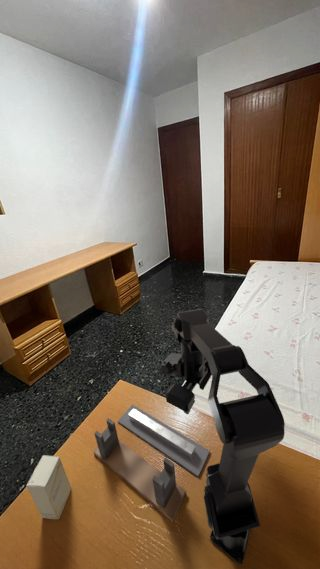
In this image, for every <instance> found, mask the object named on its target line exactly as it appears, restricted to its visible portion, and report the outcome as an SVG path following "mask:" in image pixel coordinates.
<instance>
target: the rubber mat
mask: <svg viewBox="0 0 320 569" xmlns="http://www.w3.org/2000/svg"><path fill="white" fill-rule="evenodd" d="M133 409H135V410H137V411H138V412H140V413H142V414H143V415H145V416H147V417H148V418H150V419H151V420H153V421H155V422H156V423H158V424H160V425H161V426H163V427H165V428H166V429H168V430H170V431H171V432H173V433H175V434H176V435H178V436H180V437H181V438H183V439H185V440H186V441H188V442H190V443H191V444H193V445H195V446H196V452H195V454H194V456H193V458H192V460H191V459H189V458H188V457H186V456H184V455H183V454H181V453H180V452H178V451H177V450H175V449H174V448H172V447H171V446H169V445H168V444H166V443H164V442H163V441H161V440H160V439H158V438H157V437H155V436H154V435H152V434H151V433H149V432H147V431H146V430H144V429H143V428H141V427H140V426H138V425H137V424H135V423H134V422H132V421H131V420H129V415H128V414H129V413H130V412H131V411H132V410H133ZM117 423H119V424H120V425H121V426H123V427H124V428H125V429H126V430H129V431H130V432H132V433H133V434H135V435H136V436H137V437H139V438H140V439H141V440H143V441H144V442H146V443H147V444H149V445H151V446H152V447H153V448H155V450H157V451H159V452H160V453H162V454H164V455H165V456H167V457H168V458H169V459H171V460H172V461H173V462H176V463H177V464H178V465H179V466H181V467H182V468H184V469H186V471H189V472H190V473H191V474H193V475H195V477H197V478H199V476H200V475H201V472H202V470H203V468H204V465H205V464H206V461H207V459H208V456H209V455H210V453H211V452H210V451H211V450H209V448H206V447H205V446H203V445H201V444H199V443H198V442H196V441H195V440H193V439H192V438H190V437H187V436H186V435H185V434H183V433H181V432H179V431H177V429H174V428H172V427H171V426H169V425H167V424H166V423H164V422H162V421H160V420H159V419H158V418H156V417H154V416H152V415H151V414H149V413H148V412H146V411H145V410H142V409H140V408H139V407H137V406H136V405H134V404H131V405H130V407H129V408H128V409H126V411H125V412H124V413H123V414H122V415H121V417H120V418H119V419H118V420H117Z"/></svg>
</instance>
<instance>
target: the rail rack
mask: <svg viewBox="0 0 320 569" xmlns="http://www.w3.org/2000/svg"><path fill="white" fill-rule="evenodd" d="M106 425H107V427H106V428H105V429H104V430H103V431H102V433H101V432H100V431H98V430H96V431H95V432H94V437H95V441H96V444H97V446H96V448H95V449H94V450H93V454H94V455H95V456H96V457H97V459H99V460H100V461H102V462H103V463H104V464H105V465H106V466H107V467H108V468H110V469H111V470H112V471H113V472H115V474H117V475H118V476H119V477H120V478H121V479H123V481H125V482H126V483H127V484H128V485H129V486H130V487H132V489H134V490H135V491H136V492H137V493H139V494H140V496H142V497H143V498H144V499H146V500H147V501H148V502H149V503H150V504H151V505H152V506H153V507H155V508H156V509H157V510H158V511H160V513H162V515H164V516H165V517H166V518H167V519H169V520H170V521H171V522H174V520H175V518H176V515H177V514H178V511H179V509H180V507H181V505H182V503H183V500H184V498H185V496H186V494H187V490H186V489H185V488H184V487H182V486H181V485H179V484H178V483H177V481H176V478H177V477H176V470H175V463H174V461H171V460H169V459H168V458H167V457H164V458H163V469H162V470H159V469H158V468H157V467H155V466H154V465H152V464H151V463H150V462H148V461H147V460H146V459H144V458H143V457H142V456H141V455H139V454H138V453H136V452H135V451H134V450H132V449H131V448H130V447H128V446H127V445H126V444H124V442H122V441H121V440H119V437H118V431H117V427H116V423H115V421H114V420H113V419H111V418H107V419H106Z"/></svg>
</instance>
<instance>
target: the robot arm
mask: <svg viewBox="0 0 320 569" xmlns="http://www.w3.org/2000/svg"><path fill="white" fill-rule="evenodd" d="M208 314H209V313H207V312H206V310H204V309H202V308H198V309H192V310H186V311H179V312H177V314H176V316H177V317H174V321H173V323H172V325H171V326H170V327H171V330H172V331H171V332H174V335H175V338H176V339H177V342H178V343H179V344H180V349H181V350H180V352H181V353H174V352H173V353H170V354H169V355H167V357H166V358H165V359H164V360H163V361H162V363H161V365H160V369H161V370H160V372H161V373H162V375H164V376H171V375H172V374H177V378H179V379H184V380H185V381H184V384H183V385H181V384H178V383H173V384H172V385H171V386H170V388H169V389H168V390H167V391H166V393H165V401H166V403H168V404H169V405H172V406H174V407H176V408H177V409H180V410H181V411H182V412H183V413H185V414H186V415H189V414H190V412H191V410H192V407H193V406H194V404H195V402H196V399H195V398H196V397H195V396H196V395H195V393H194V392H193V391H194V389H195V387H196V386H197V385H198V387H199V390H202V391H204V389H205V387H206V386H207V384H208V382H209V380H210V379H211V381H210V382H211V384H210V388H209V392H208V397H207V398H208V404H209V407H210V411H211V415H212V418H213V421H214V425H215V428H216V432H217V435H218V437H219V440H220V441H221V443H222V444H223V446H222V450H221V456H220V460H219V463H216V464H215V463H214V464H212V465H208V467H207V468H206V473H205V476H206V479H205V480H206V481H205V482H206V483H205V485H204V488H203V492H204V495H203V500H204V505H205V506H204V507H205V512H206V518H207V524H208V527H209V528H210V529H211V532H210V535H209V539H210V541H211V543H213V544H214V545H215V546H216V547H217V548H219V549H220V550H221V551H223V552H224V553H225V554H226V555H228V556H229V557H230V558H231V559H233V560H234V561H235V562H236V563H237V564H239V565H240V566H242V565H243V563H244V562H243V561H244V558H245V554H246V550H247V545H248V541H249V537H250V533H251V530H253V529H256V528H259V527H261V524H260V520H259V516H258V512H257V509H256V504H255V501H254V498H253V493H252V491H251V487H250V484H249V480H250V477H251V475H252V472H253V470H254V467H255V466H256V465H255V464H256V462H257V460H258V458H259V455H260V454H262V453H264V452H266V451H269V450H270V449H273V448H274V447H276V446H277V445H278V444H280V443H281V442H282V441H283V440H284V438H285V433H286V432H285V426H286V424H285V419H284V416H283V413H282V410H281V408H280V406H279V403H278V402H277V399H276V397H275V394H274V393H273V390H272V388H271V386H270V384H269V383H268V381H267V380H266V379H264V377H263V376H261V375H260V374H259V373H258V371H256V370H255V369H254V368H253V367H252V366H251V365H250V364H249V362H248V359H247V357H246V354H245V353H244V351H243V349H242V347H241V346H239V345H234V344H232V343H231V342H230V341H229V340H228V339H226V337H224V336H223V335H222V334H221V333H220V332H219V331H218V330H217V329H216V328H214V327H213V325H211V322H210V317H209V315H208ZM232 373H238V374H240V375H241V376H242V377H243V378H244V379H245V380H246V382H248V384H249V385H250V386H252V387H253V389H255V390H256V392H257V394H256V395H251V396H246V397H242V398H238V399H233V400H229V401H225V402H221V403H220V402H219V398H218V392H219V391H218V390H219V387H220V386H219V385H220V381H221V376H224V375H228V374H232ZM211 377H212V378H211ZM212 537H213V538H212Z"/></svg>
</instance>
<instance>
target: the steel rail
mask: <svg viewBox="0 0 320 569" xmlns="http://www.w3.org/2000/svg"><path fill="white" fill-rule="evenodd" d="M128 415H129V420H131V421H132V422H134V423H135V424H137V425H138V426H140V427H141V428H143V429H144V430H146V431H147V432H149V433H151V434H152V435H154V436H155V437H157V438H158V439H160V440H161V441H163V442H164V443H166V444H168V445H169V446H171V447H172V448H174V449H175V450H177V451H178V452H180V453H181V454H183V455H184V456H186V457H188V458H189V459H191V460H192V458H193V456H194V454H195V452H196V446H195V445H193V444H191V443H190V442H188V441H186V440H185V439H183V438H181V437H180V436H178V435H176V434H175V433H173V432H171V431H170V430H168V429H166V428H165V427H163V426H161V425H160V424H158V423H156V422H155V421H153V420H151V419H150V418H148V417H147V416H145V415H143V414H142V413H140V412H138V411H137V410H135V409H133V410H132V411H131V412H130V413H129V414H128Z"/></svg>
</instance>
